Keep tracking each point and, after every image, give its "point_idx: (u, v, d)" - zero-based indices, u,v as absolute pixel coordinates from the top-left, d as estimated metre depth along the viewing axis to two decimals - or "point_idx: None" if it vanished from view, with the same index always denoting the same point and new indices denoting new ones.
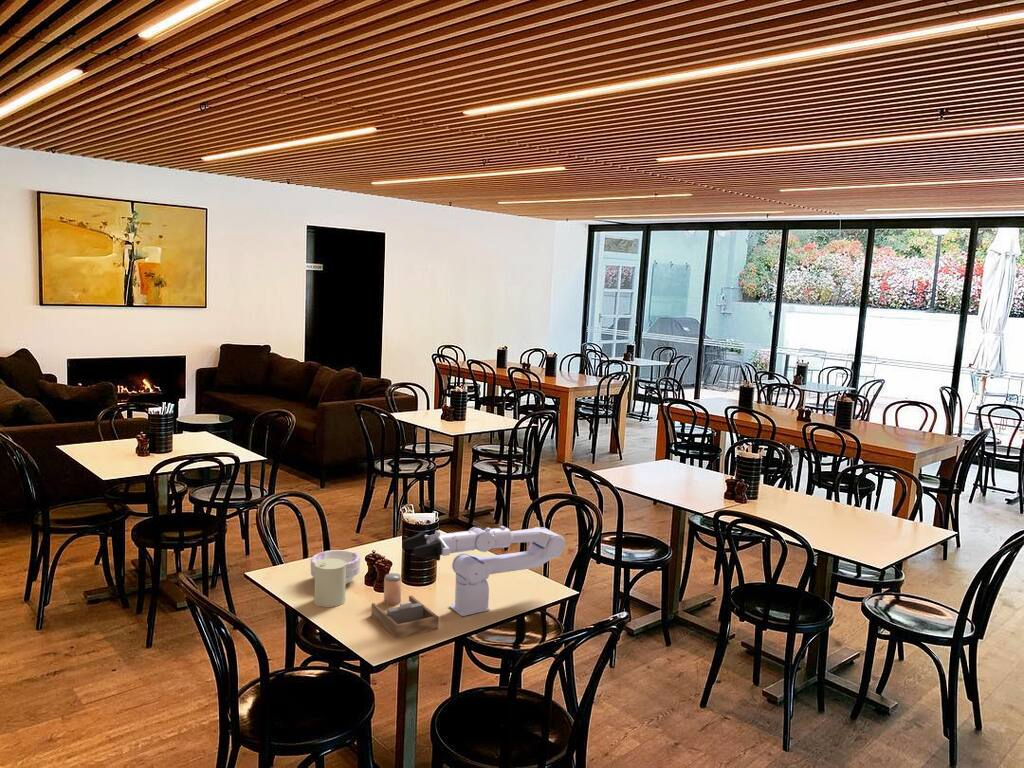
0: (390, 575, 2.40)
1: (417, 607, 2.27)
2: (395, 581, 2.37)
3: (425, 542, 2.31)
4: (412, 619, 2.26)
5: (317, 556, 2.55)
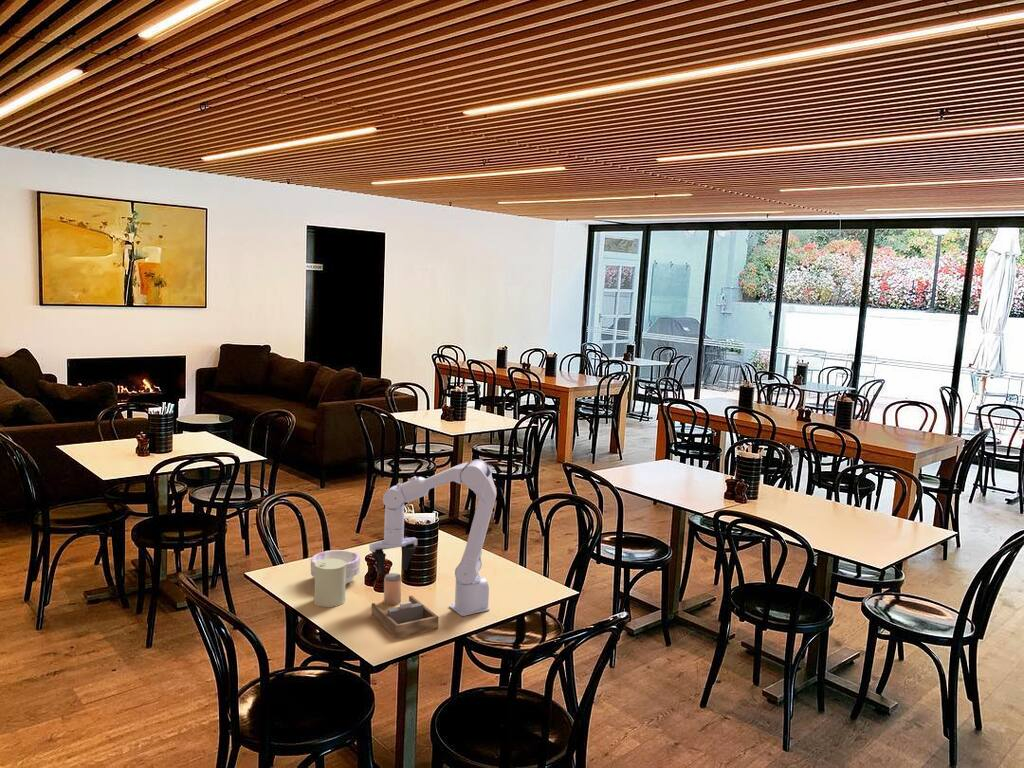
0: (390, 575, 2.40)
1: (417, 607, 2.27)
2: (395, 581, 2.37)
3: (405, 546, 2.40)
4: (412, 619, 2.26)
5: (317, 556, 2.55)
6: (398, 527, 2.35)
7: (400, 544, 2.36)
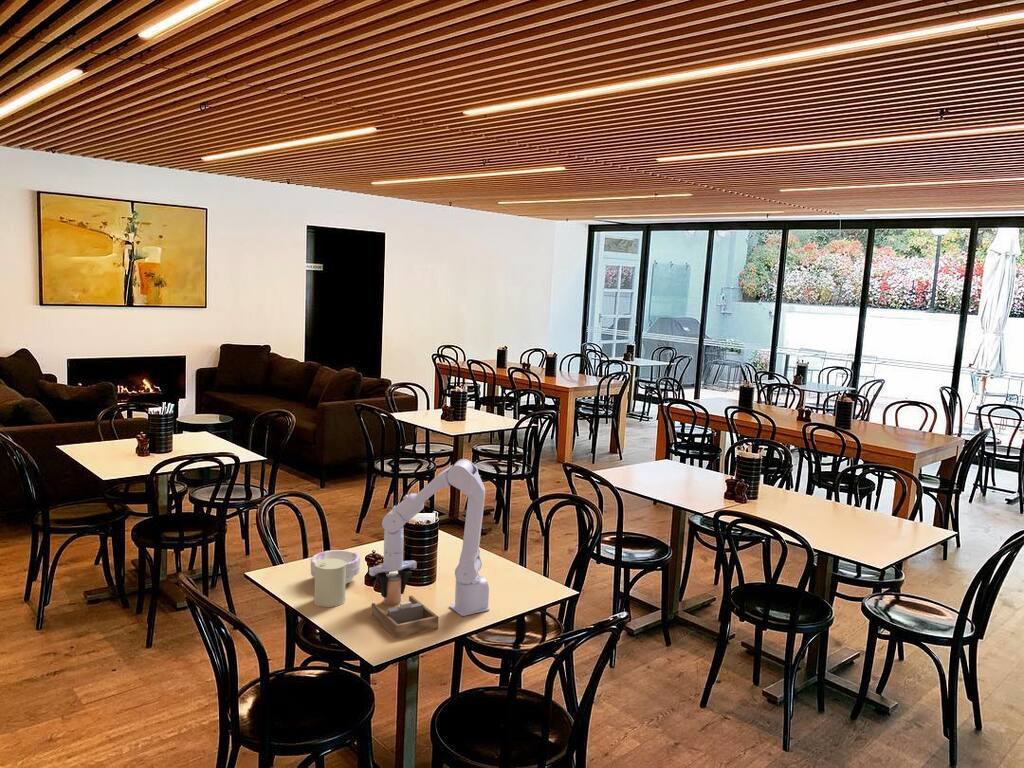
0: (390, 575, 2.40)
1: (417, 607, 2.27)
2: (395, 581, 2.37)
3: None
4: (412, 619, 2.26)
5: (317, 556, 2.55)
6: (397, 551, 2.36)
7: (399, 567, 2.37)
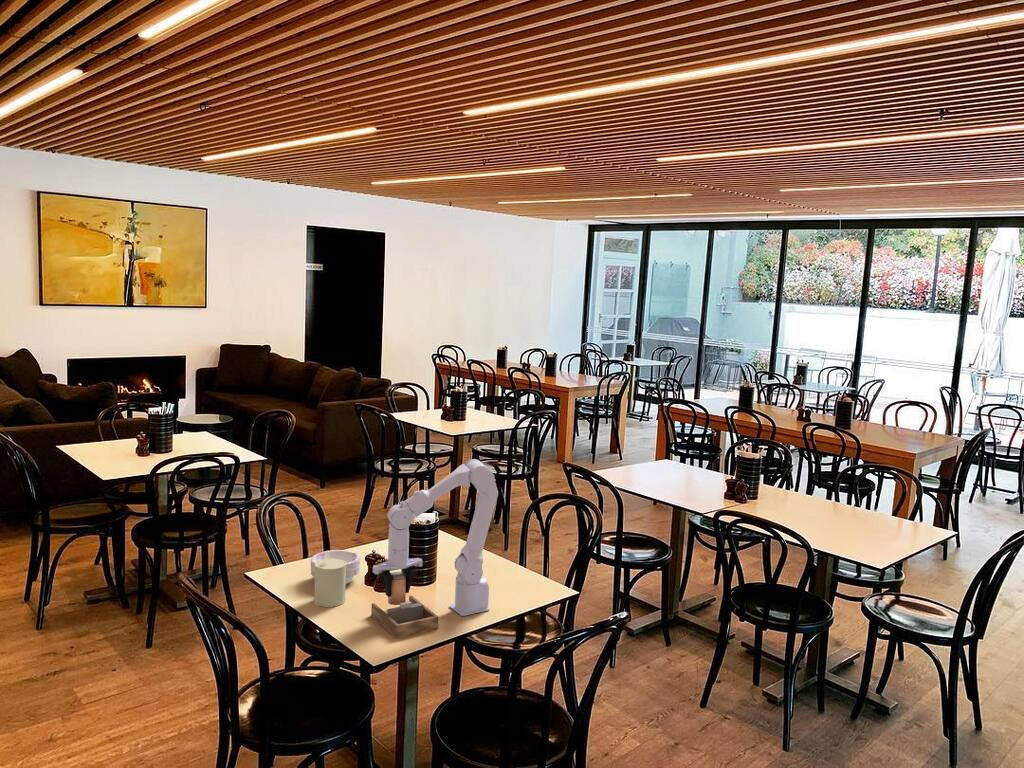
0: (394, 573, 2.30)
1: (417, 607, 2.27)
2: (399, 579, 2.27)
3: None
4: (412, 619, 2.26)
5: (317, 556, 2.55)
6: (406, 547, 2.27)
7: (405, 565, 2.27)
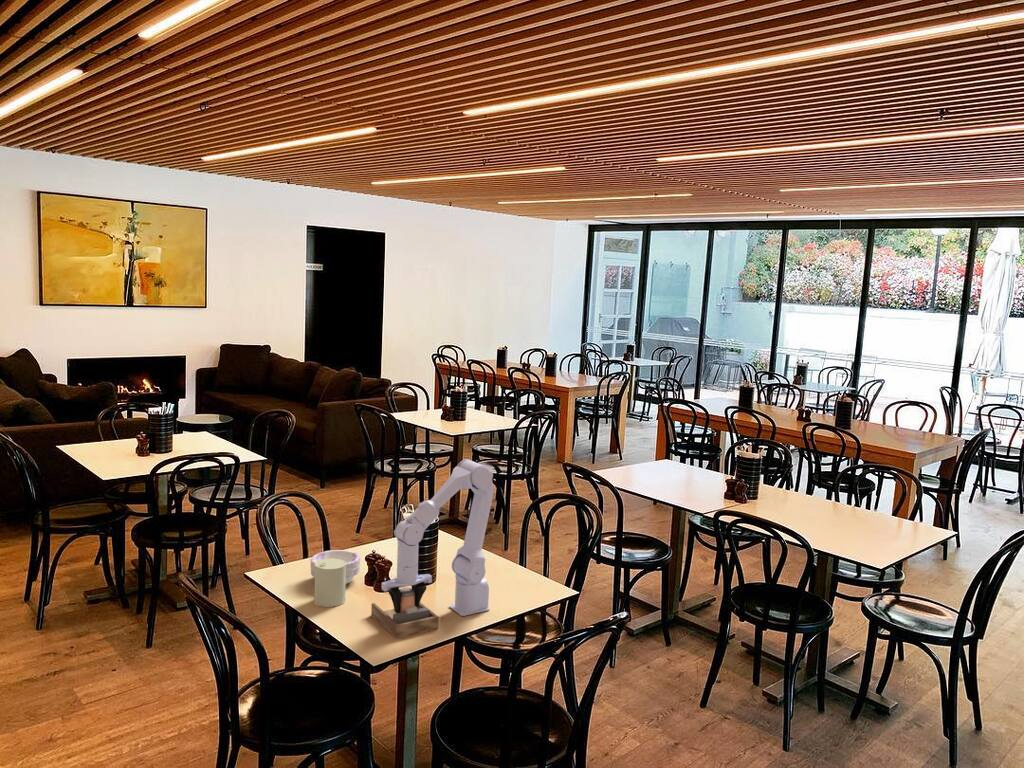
0: (403, 590, 2.25)
1: (423, 612, 2.24)
2: (408, 596, 2.23)
3: None
4: None
5: (317, 556, 2.55)
6: (417, 562, 2.23)
7: (414, 582, 2.22)
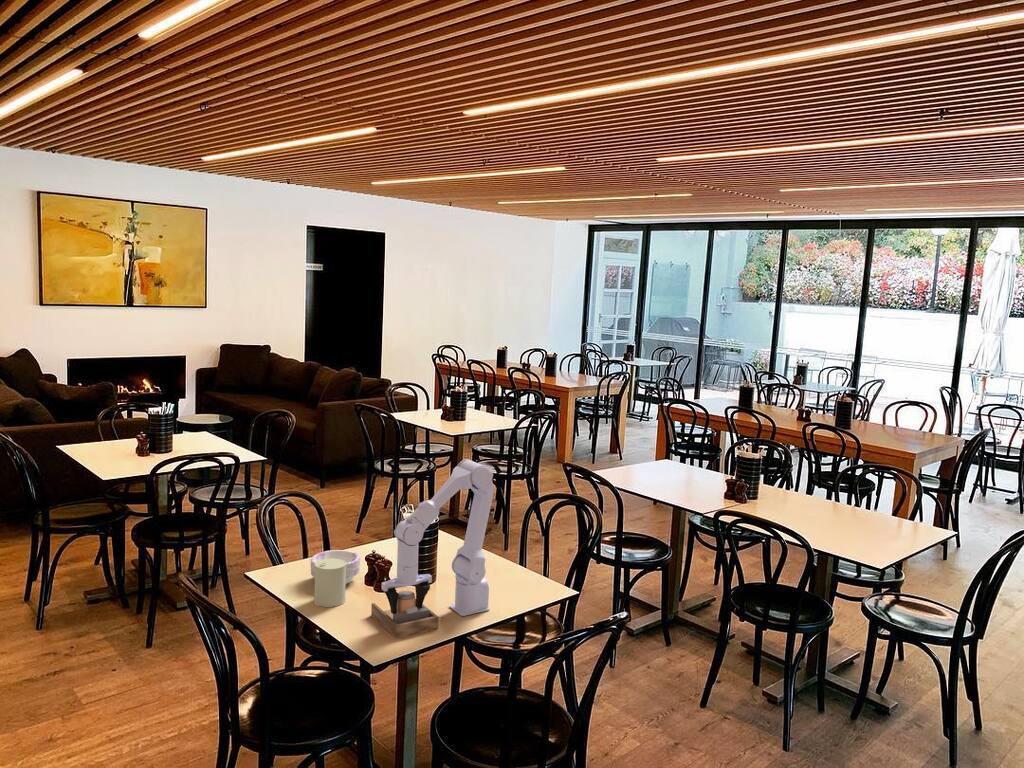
0: (403, 593, 2.25)
1: (423, 612, 2.23)
2: (408, 599, 2.23)
3: (419, 584, 2.26)
4: None
5: (317, 556, 2.55)
6: (417, 562, 2.23)
7: (414, 582, 2.22)
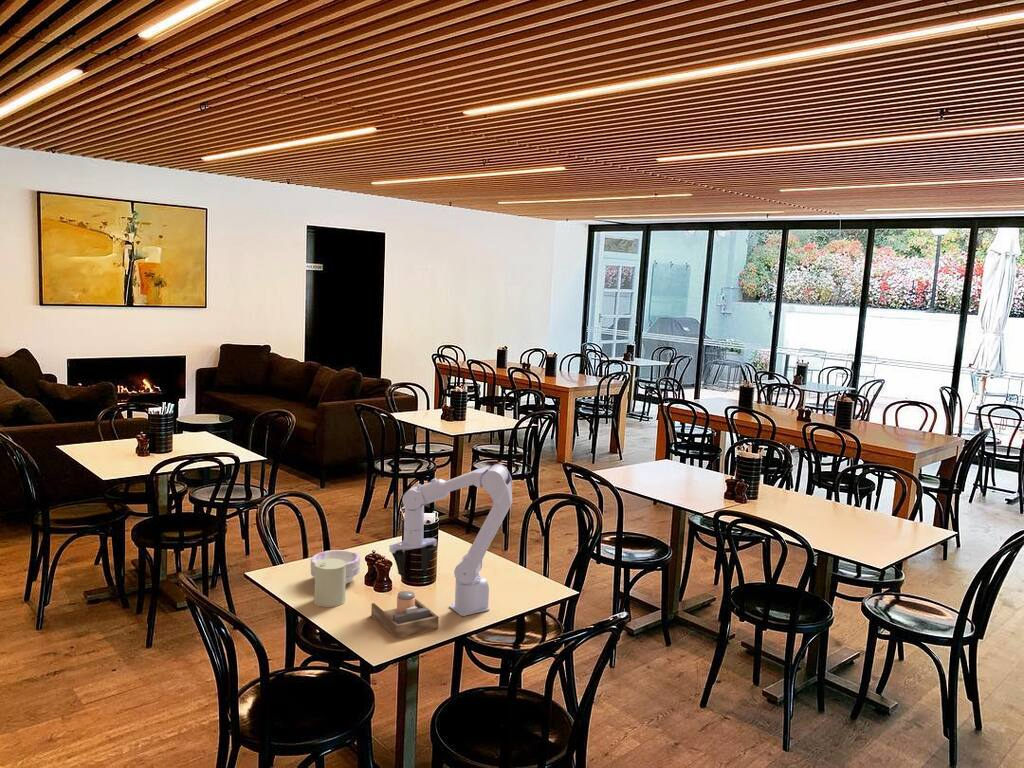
0: (403, 593, 2.25)
1: (423, 612, 2.23)
2: (408, 599, 2.23)
3: (425, 547, 2.40)
4: None
5: (317, 556, 2.55)
6: (418, 528, 2.35)
7: (420, 545, 2.36)
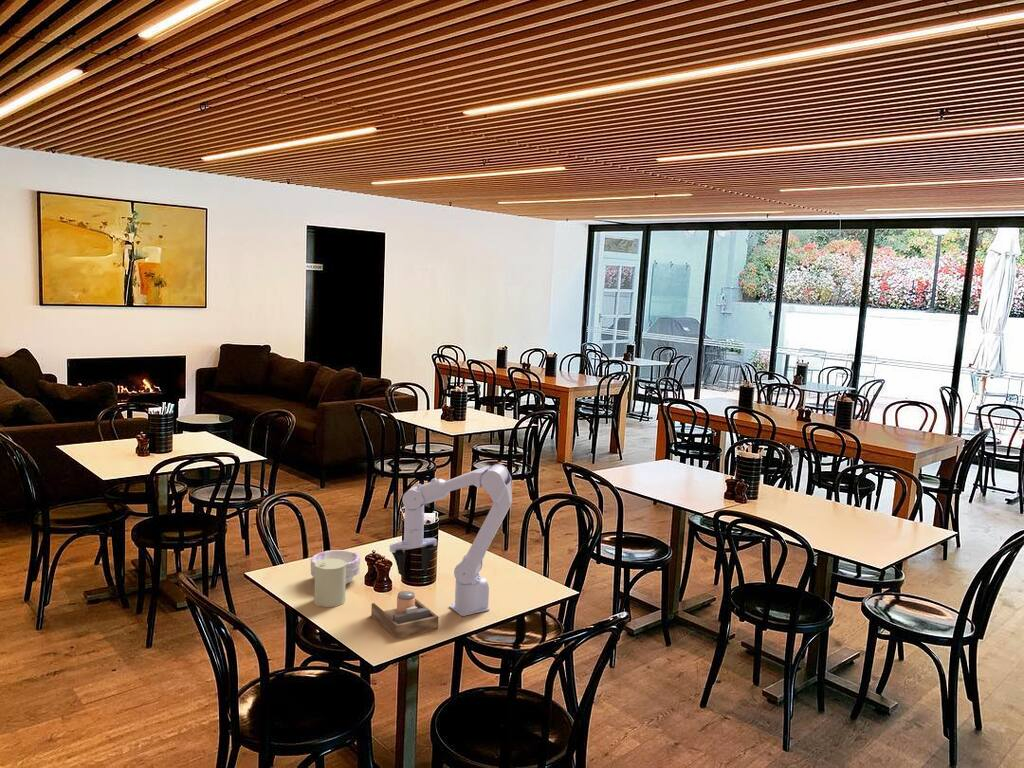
0: (403, 593, 2.25)
1: (423, 612, 2.23)
2: (408, 599, 2.23)
3: (425, 547, 2.40)
4: None
5: (317, 556, 2.55)
6: (417, 528, 2.35)
7: (420, 544, 2.36)
